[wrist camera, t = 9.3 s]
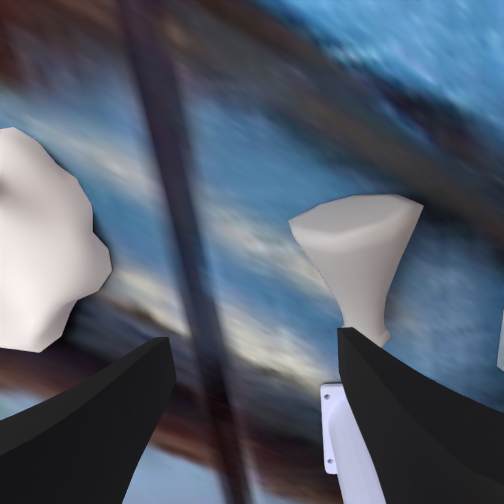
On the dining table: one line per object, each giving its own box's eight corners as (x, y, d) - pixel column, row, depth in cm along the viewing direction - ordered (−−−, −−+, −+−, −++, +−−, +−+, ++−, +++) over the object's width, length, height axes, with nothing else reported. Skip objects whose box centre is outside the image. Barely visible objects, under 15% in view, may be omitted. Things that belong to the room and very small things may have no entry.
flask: (455, 196, 13) (450, 345, 16) (358, 185, 19) (371, 293, 23) (326, 250, 11) (354, 396, 15) (270, 218, 18) (300, 326, 22)
